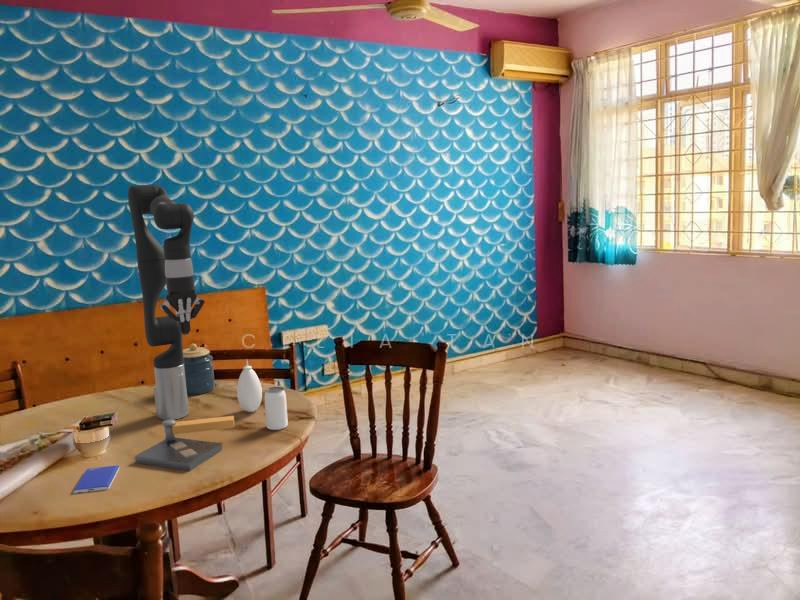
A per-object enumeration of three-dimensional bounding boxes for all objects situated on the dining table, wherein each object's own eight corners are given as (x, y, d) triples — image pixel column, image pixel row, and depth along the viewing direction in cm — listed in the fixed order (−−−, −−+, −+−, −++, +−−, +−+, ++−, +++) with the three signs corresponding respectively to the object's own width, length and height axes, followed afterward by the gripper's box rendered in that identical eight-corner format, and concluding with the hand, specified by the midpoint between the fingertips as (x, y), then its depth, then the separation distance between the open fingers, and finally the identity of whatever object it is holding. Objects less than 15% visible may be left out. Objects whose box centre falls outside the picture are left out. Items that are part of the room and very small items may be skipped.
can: (283, 431, 195) (280, 393, 193) (263, 430, 197) (260, 392, 195) (291, 423, 202) (288, 386, 200) (271, 422, 203) (268, 385, 201)
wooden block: (163, 442, 184) (161, 424, 183) (164, 437, 188) (163, 420, 187) (234, 434, 188) (233, 416, 187) (234, 429, 192) (233, 412, 191)
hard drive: (86, 468, 171) (73, 489, 159) (119, 464, 173) (108, 485, 161) (87, 474, 172) (73, 495, 160) (119, 470, 173) (109, 491, 161)
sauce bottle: (254, 416, 209) (249, 362, 206) (234, 414, 212) (229, 361, 209) (267, 408, 216) (263, 356, 213) (248, 406, 219) (243, 355, 216)
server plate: (135, 462, 176) (134, 454, 176) (170, 443, 189) (169, 435, 189) (190, 470, 170) (189, 462, 170) (222, 449, 183) (221, 442, 182)
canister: (178, 387, 243) (173, 342, 240) (213, 382, 247) (209, 338, 244) (179, 397, 231) (175, 349, 228) (217, 392, 236) (213, 345, 232)
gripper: (160, 278, 176) (167, 340, 179) (207, 272, 185) (212, 332, 188) (151, 276, 182) (157, 336, 185) (196, 270, 190) (201, 328, 193)
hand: (185, 333), depth 186 cm, fingers closed
